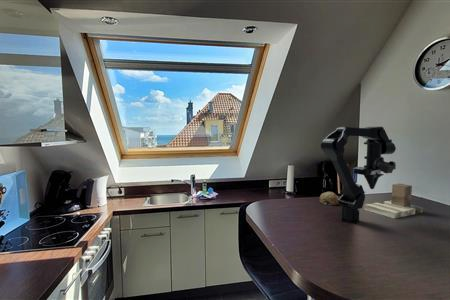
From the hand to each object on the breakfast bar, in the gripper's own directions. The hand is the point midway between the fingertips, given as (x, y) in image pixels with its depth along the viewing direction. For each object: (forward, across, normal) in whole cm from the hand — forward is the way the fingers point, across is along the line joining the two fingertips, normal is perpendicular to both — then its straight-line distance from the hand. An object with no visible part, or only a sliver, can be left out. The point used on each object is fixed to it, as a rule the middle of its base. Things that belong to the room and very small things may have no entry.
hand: (372, 188), depth 123 cm
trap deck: (+13, +19, +2) cm, 23 cm away
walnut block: (+10, +25, +2) cm, 28 cm away
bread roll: (+13, +2, +26) cm, 30 cm away
